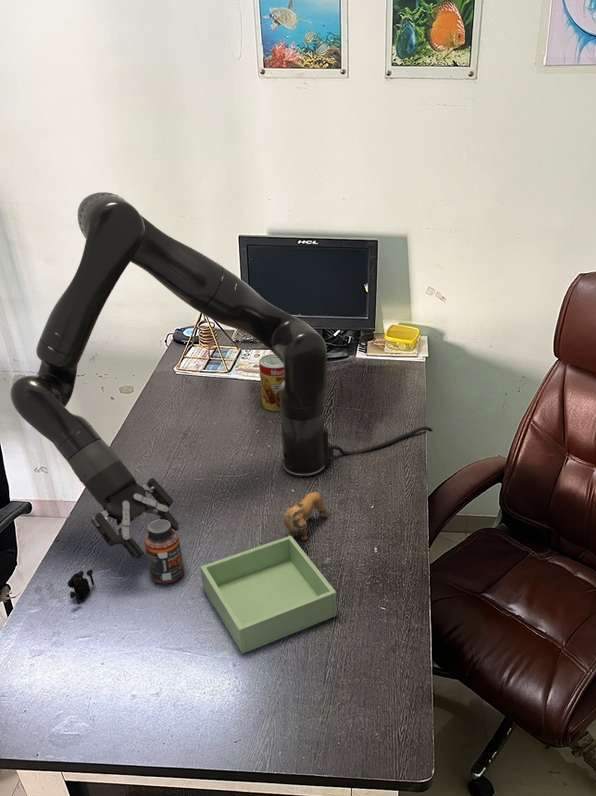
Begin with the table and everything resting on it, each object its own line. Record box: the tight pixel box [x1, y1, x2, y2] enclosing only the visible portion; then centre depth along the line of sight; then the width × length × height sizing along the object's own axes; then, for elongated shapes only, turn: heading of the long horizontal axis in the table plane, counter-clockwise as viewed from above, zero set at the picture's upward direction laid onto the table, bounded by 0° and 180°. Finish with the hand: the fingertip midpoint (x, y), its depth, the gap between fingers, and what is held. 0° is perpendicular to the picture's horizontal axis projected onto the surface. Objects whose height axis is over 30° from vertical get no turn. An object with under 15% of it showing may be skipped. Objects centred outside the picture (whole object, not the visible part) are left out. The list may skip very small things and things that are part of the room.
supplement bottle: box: [143, 519, 185, 584], centre depth 133 cm, size 6×6×11 cm
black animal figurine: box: [67, 569, 95, 605], centre depth 130 cm, size 7×2×5 cm, turn 168°
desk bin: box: [200, 535, 337, 655], centre depth 130 cm, size 18×18×6 cm
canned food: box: [258, 353, 285, 412], centre depth 186 cm, size 8×8×12 cm
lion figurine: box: [283, 491, 328, 541], centre depth 146 cm, size 15×5×9 cm, turn 163°
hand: (159, 543), depth 133 cm, fingers open, 8 cm apart
